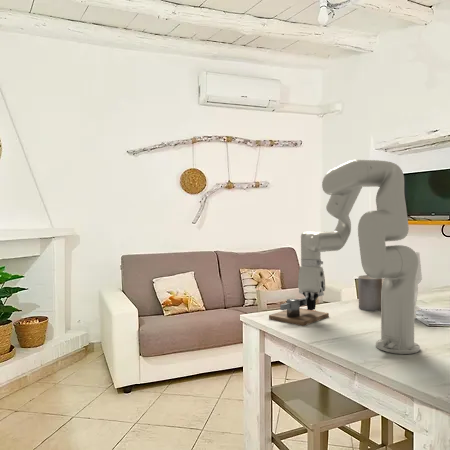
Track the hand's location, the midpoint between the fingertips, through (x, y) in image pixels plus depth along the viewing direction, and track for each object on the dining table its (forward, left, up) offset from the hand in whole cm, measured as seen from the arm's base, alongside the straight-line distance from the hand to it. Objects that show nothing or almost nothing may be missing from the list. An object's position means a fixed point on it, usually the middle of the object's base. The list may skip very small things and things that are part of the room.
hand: (311, 309), depth 175 cm
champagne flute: (+41, -24, -4) cm, 48 cm away
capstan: (-5, +4, -2) cm, 6 cm away
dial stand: (-3, +4, -3) cm, 6 cm away
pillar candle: (+30, -10, -4) cm, 32 cm away
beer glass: (+25, -28, -4) cm, 38 cm away
